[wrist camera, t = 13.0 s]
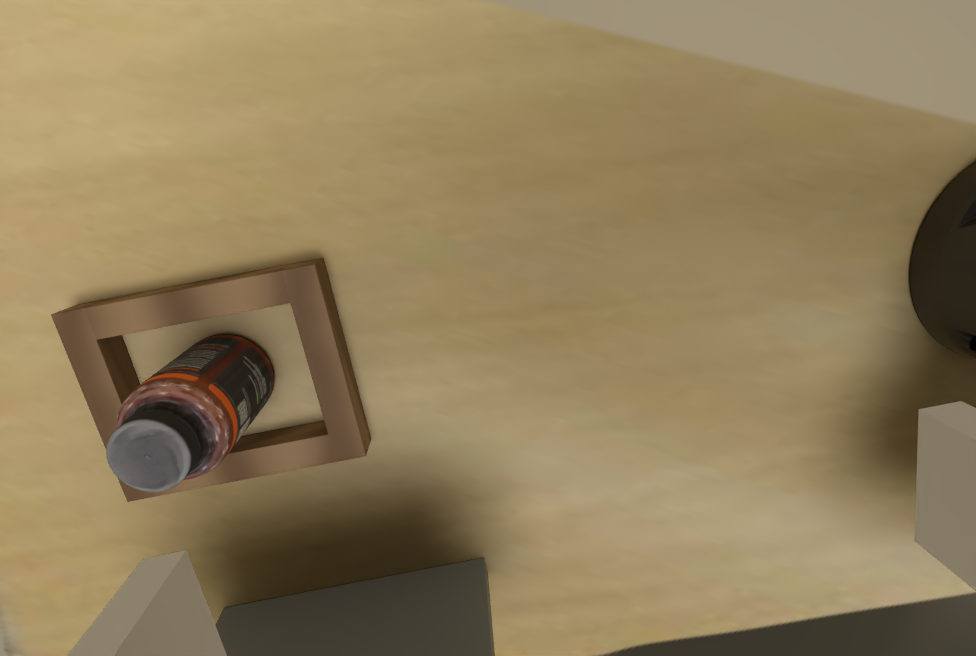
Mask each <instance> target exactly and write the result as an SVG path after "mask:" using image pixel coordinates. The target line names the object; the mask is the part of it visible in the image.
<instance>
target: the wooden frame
mask: <svg viewBox="0 0 976 656" xmlns="http://www.w3.org/2000/svg"><path fill="white" fill-rule="evenodd" d="M287 303H291V306H292V309H293V313H294V316H295V320H296V323H297V327H298V330H299V334H300V337H301V341H302V344H303V348H304V351H305V355H306V358H307V362H308V365H309V369H310V372H311V376H312V379H313V383H314V386H315V390H316V393H317V397H318V400H319V404H320V407H321V410H322V414H323V417H324V421H320V422H315V423H310V424H305V425H299V426H294V427H289V428H284V429H278V430H273V431H268V432H263V433H258V434H252V435H247V436H242V437H240V438H239V440H238V441H237V442H236V444H235V445H234V447H233V448H232V449H231V450H230V452H229V453H228V454H227V456H226V457H225V458H224V459H223V460H222V461H221V462H220V463H219V465H217V467H215V468H214V469H213V470H211V471H210V472H208V473H206V474H204V475H202V476H200V477H196V478H193V479H188V480H183V481H182V482H181V483H179V484H178V485H177V486H175V487H173V488H171V489H168V490H165V491H161V492H146V491H141V490H138V489H135V488H132V487H131V486H129V485H127V484H125V483H124V482H122V481H121V480H120V479H119V478H118V480H119V482H120V485H121V487H122V489H123V492H124V494H125V497H126V499H127V502H129V501H134V500H139V499H144V498H150V497H155V496H160V495H165V494H170V493H176V492H181V491H186V490H191V489H197V488H202V487H207V486H212V485H217V484H223V483H228V482H233V481H238V480H243V479H249V478H254V477H259V476H264V475H270V474H275V473H280V472H285V471H290V470H296V469H301V468H306V467H311V466H316V465H322V464H327V463H332V462H337V461H343V460H348V459H353V458H358V457H363V456H366V454H367V451H368V447H369V444H370V441H371V437H370V433H369V429H368V425H367V422H366V418H365V414H364V410H363V406H362V403H361V399H360V395H359V391H358V387H357V384H356V380H355V376H354V372H353V369H352V365H351V361H350V357H349V353H348V350H347V346H346V342H345V338H344V334H343V331H342V327H341V323H340V319H339V315H338V312H337V308H336V304H335V300H334V297H333V293H332V289H331V285H330V281H329V278H328V274H327V270H326V266H325V262H324V259H323V258H321V259H315V260H310V261H305V262H300V263H294V264H289V265H284V266H279V267H273V268H268V269H263V270H258V271H252V272H247V273H242V274H237V275H231V276H226V277H221V278H215V279H210V280H205V281H200V282H194V283H189V284H184V285H179V286H173V287H168V288H163V289H158V290H152V291H147V292H142V293H137V294H131V295H126V296H121V297H115V298H110V299H105V300H100V301H94V302H89V303H84V304H79V305H75V306H73V307H70V308H67V309H65V310H62V311H59V312H57V313H54V314H51V316H52V318H53V321H54V323H55V326H56V328H57V331H58V333H59V336H60V338H61V340H62V343H63V345H64V348H65V350H66V353H67V355H68V358H69V360H70V362H71V365H72V367H73V370H74V372H75V375H76V377H77V380H78V382H79V384H80V387H81V389H82V392H83V394H84V397H85V399H86V401H87V404H88V406H89V409H90V411H91V414H92V416H93V419H94V421H95V423H96V426H97V428H98V431H99V433H100V436H101V438H102V441H103V443H104V445H105V448H107V443H108V441H109V438H110V437H111V435H112V434H113V432H114V431H115V430H116V421H117V415H118V412H119V409H120V407H121V405H122V403H123V402H124V401H125V399H126V398H127V397H128V395H129V394H130V393H131V392H132V391H133V390H135V389H136V388H137V387H138V386H140V383H139V380H138V378H137V375H136V372H135V370H134V367H133V364H132V362H131V359H130V356H129V354H128V351H127V348H126V346H125V343H124V341H123V338H122V335H124V334H129V333H135V332H140V331H145V330H150V329H156V328H161V327H166V326H171V325H177V324H182V323H187V322H192V321H198V320H203V319H208V318H213V317H219V316H224V315H229V314H234V313H240V312H245V311H250V310H255V309H261V308H266V307H271V306H276V305H282V304H287Z"/></svg>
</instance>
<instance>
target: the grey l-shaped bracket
mask: <svg viewBox="0 0 976 656" xmlns="http://www.w3.org/2000/svg"><path fill="white" fill-rule="evenodd" d="M215 626H216V628H217V631H218V633H219V636H220V639H221V641H222V644H223V646H224V649H225V652H226V654H227V656H495V653H494V641H493V629H492V617H491V605H490V593H489V581H488V573H487V568H486V564H485V559H484V558H480V559H475V560H470V561H464V562H459V563H454V564H449V565H444V566H439V567H433V568H428V569H423V570H418V571H413V572H407V573H402V574H397V575H392V576H387V577H382V578H376V579H371V580H366V581H361V582H356V583H350V584H345V585H340V586H335V587H330V588H325V589H319V590H314V591H309V592H304V593H299V594H293V595H288V596H283V597H278V598H273V599H267V600H262V601H257V602H252V603H247V604H242V605H236V606H231V607H226V608H224V610H223V612H222V613H221V615H220V617H219V619H218V621H217V623H216V625H215Z"/></svg>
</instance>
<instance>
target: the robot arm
mask: <svg viewBox="0 0 976 656" xmlns="http://www.w3.org/2000/svg"><path fill="white" fill-rule="evenodd" d="M910 284H911V293H912V299H913V302H914V306H915V309H916V312H917V314H918V316H919V318H920V320H921V322H922V323H923V325H924V326H925V328H926V329H927V331H928V332H929V333H930V334H931V335H932V336H933V337H934V338H935V339H936V340H937V341H938V342H940V343H941V344H942V345H944V346H945V347H947V348H948V349H950V350H952V351H954V352H957V353H959V354H962V355H964V356H967V357H970V358H972V359H975V360H976V162H975V163H974V164H972V165H971V166H970V167H968V168H967V169H966V170H965V171H964V172H962V173H961V174H960V175H959V176H958V177H957V178H956V179H955V180H954V181H953V182H952V183H951V184H950V185H949V186H948V187H947V188H946V190H945V191H944V192H943V193H942V194H941V196H940V197H939V198H938V200H937V201H936V202H935V204H934V205H933V207H932V208H931V210H930V212H929V214H928V215H927V217H926V219H925V221H924V223H923V225H922V227H921V230H920V232H919V235H918V237H917V240H916V243H915V247H914V251H913V256H912V261H911V271H910ZM915 541H916V542H917V543H918V544H919V545H920V546H922V547H923V548H924V549H925V550H927V551H928V552H929V553H930V554H931V555H933V556H934V557H935V558H936V559H937V560H939V561H940V562H941V563H942V564H944V565H945V566H946V567H947V568H948V569H950V570H951V571H952V572H953V573H955V574H956V575H957V576H958V577H959V578H961V579H962V580H963V581H964V582H965V583H967V584H968V585H969V586H970V587H972V588H973V589H974V590H975V591H976V408H975V407H973V406H970V405H968V404H966V403H964V402H962V401H959V402H954V403H949V404H944V405H938V406H933V407H928V408H923V409H919V414H918V446H917V478H916V510H915ZM67 656H227V654H226V652H225V649H224V646H223V644H222V641H221V639H220V636H219V633H218V631H217V628H216V626H215V623H214V621H213V618H212V615H211V613H210V610H209V608H208V605H207V602H206V600H205V597H204V595H203V592H202V590H201V587H200V584H199V582H198V579H197V577H196V574H195V571H194V569H193V566H192V564H191V561H190V559H189V556H188V553H187V551H186V550H185V551H180V552H174V553H169V554H164V555H159V556H154V557H148V558H143V559H142V561H141V562H140V563H139V565H138V566H137V567H136V568H135V570H134V571H133V572H132V573H131V575H130V576H129V577H128V579H127V580H126V581H125V582H124V584H123V585H122V586H121V588H120V589H119V590H118V591H117V593H116V594H115V595H114V596H113V598H112V599H111V600H110V602H109V603H108V604H107V605H106V607H105V608H104V609H103V611H102V612H101V613H100V614H99V616H98V617H97V618H96V620H95V621H94V622H93V623H92V625H91V626H90V627H89V628H88V630H87V631H86V632H85V634H84V635H83V636H82V637H81V639H80V640H79V641H78V643H77V644H76V645H75V646H74V648H73V649H72V650H71V651H70V653H69V654H68V655H67Z"/></svg>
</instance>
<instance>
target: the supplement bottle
mask: <svg viewBox="0 0 976 656" xmlns="http://www.w3.org/2000/svg"><path fill="white" fill-rule="evenodd" d="M273 384H274V374H273V369H272V366H271V364H270V362H269V360H268V358H267V357H266V355H265V354H264V353H263V352H262V350H261V349H259V348H258V347H257V346H256V345H254V344H253V343H251V342H250V341H248V340H246V339H244V338H241V337H238V336H233V335H216V336H211V337H208V338H205V339H203V340H201V341H200V342H198V343H196V344H194V345H193V346H192V347H190V348H189V349H188V350H186V351H185V352H184V353H182V354H181V355H180V356H178V357H177V358H176V359H174V360H173V361H172V362H170V363H169V364H168V365H166V366H165V367H163V368H162V369H161V370H160V371H158V372H157V373H156V374H154V375H153V376H151V377H150V378H149V379H147V380H146V381H145V382H143V383H142V384H141V385H140V386H138V387H137V388H136V389H135V390H133V391H132V392H131V393H130V394H129V395H128V397H127V398H126V399H125V401H124V402H123V403H122V405H121V407H120V409H119V412H118V415H117V421H116V430H115V431H114V432H113V434H112V435H111V437H110V438H109V441H108V443H107V448H106V453H107V460H108V463H109V466H110V468H111V469H112V471H113V473H114V474H115V475H116V476H117V477H118V478H119V479H120V480H121V481H122V482H124V483H125V484H127V485H129V486H131V487H132V488H135V489H138V490H141V491H146V492H161V491H165V490H168V489H171V488H173V487H175V486H177V485H178V484H179V483H181V482H182V481H183V480H188V479H193V478H196V477H200V476H202V475H204V474H206V473H208V472H210V471H211V470H213V469H214V468H215V467H217V465H219V463H220V462H221V461H222V460H223V459H224V458H225V457H226V456H227V454H228V453H229V452H230V450H231V449H232V448H233V447H234V445H235V444H236V442H237V441H238V440H239V438H240V437H241V436H242V434H243V433H244V432H245V430H246V429H247V428H248V426H249V425H250V424H251V423H252V421H253V420H254V419H255V417H256V416H257V415H258V413H259V412H260V410H261V409H262V408H263V407H264V405H265V404H266V402H267V401H268V399H269V397H270V395H271V393H272V390H273Z"/></svg>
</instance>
